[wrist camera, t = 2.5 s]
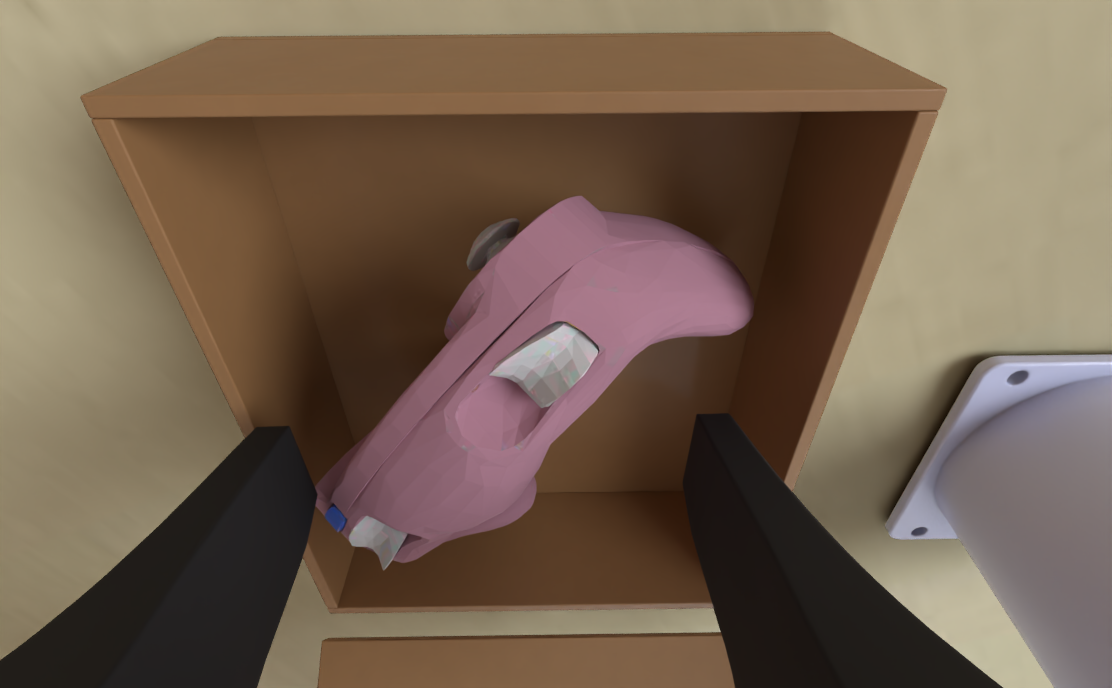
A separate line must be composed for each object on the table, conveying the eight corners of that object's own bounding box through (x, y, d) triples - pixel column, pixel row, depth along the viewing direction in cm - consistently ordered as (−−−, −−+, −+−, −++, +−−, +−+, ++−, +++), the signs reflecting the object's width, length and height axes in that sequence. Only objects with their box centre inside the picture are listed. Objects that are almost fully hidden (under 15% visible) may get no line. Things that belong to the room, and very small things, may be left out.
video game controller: (635, 142, 13) (461, 154, 7) (782, 285, 13) (726, 421, 7) (431, 394, 18) (232, 522, 12) (531, 501, 18) (375, 686, 12)
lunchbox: (830, 31, 11) (949, 88, 8) (714, 488, 19) (748, 608, 16) (217, 36, 11) (78, 96, 8) (365, 493, 19) (329, 613, 16)
